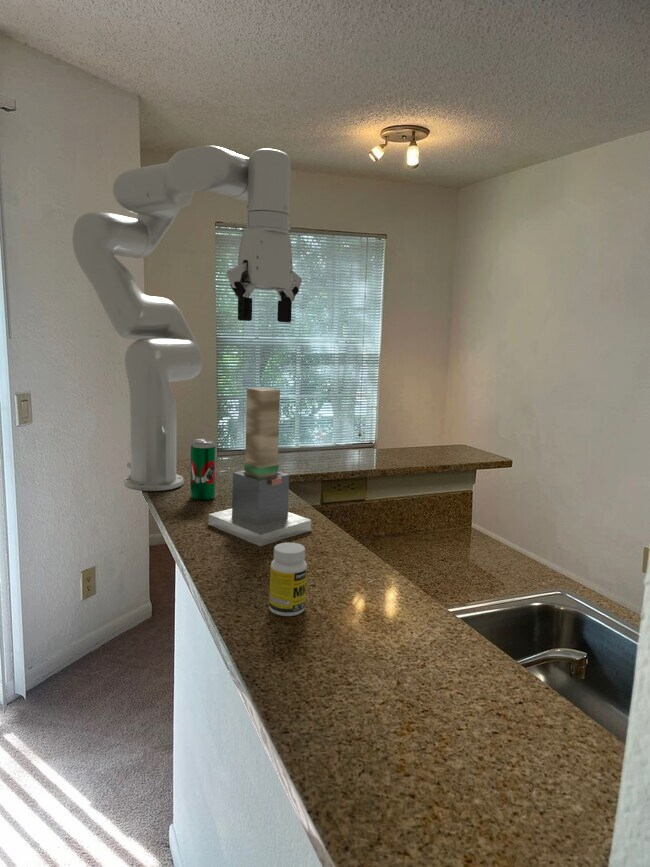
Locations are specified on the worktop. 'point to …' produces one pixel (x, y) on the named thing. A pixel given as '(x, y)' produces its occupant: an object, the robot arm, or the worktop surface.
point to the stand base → (260, 510)
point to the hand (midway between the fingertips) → (265, 321)
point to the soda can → (203, 469)
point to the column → (262, 432)
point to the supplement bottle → (288, 580)
